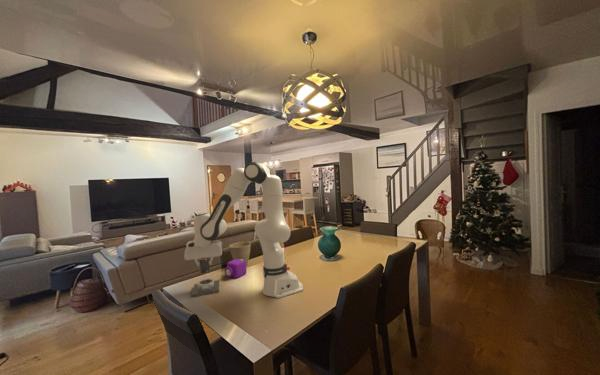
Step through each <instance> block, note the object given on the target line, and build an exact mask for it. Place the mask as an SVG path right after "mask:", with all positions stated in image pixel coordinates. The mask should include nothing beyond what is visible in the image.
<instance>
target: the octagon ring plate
mask: <svg viewBox="0 0 600 375" xmlns="http://www.w3.org/2000/svg"><path fill="white" fill-rule="evenodd" d="M219 292H220V279H218V280H215V279H214V278H205V279H204V278H203V279H200V280H199V281H197V283H194V285H193V288H192V292H191V298H195V297H200V296H206V295H211V294H217V293H219Z"/></svg>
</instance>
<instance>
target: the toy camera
mask: <svg viewBox="0 0 600 375" xmlns="http://www.w3.org/2000/svg"><path fill="white" fill-rule="evenodd" d="M246 274H247V266H246V261H245V260H243V259H235V260H233V259H232V260H229V261H228V262H227V263H226V267H225V268H224V275H225V276H226V277H227V278H234V279H239V278H241V277H243V276H244V275H246Z"/></svg>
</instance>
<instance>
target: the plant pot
mask: <svg viewBox="0 0 600 375" xmlns="http://www.w3.org/2000/svg"><path fill="white" fill-rule="evenodd" d="M251 244H252V242H249V241H240V242H235V243H231V244H229V249H230V254H231V257H232V260H235V259H243V260H245V261H246V267H248V264H249V259H250V255H251V247H252V246H251Z"/></svg>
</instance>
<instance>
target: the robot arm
mask: <svg viewBox="0 0 600 375" xmlns="http://www.w3.org/2000/svg"><path fill="white" fill-rule="evenodd" d="M251 183H255V184H258V185H261V188H262V195H261V198H262V201H261V210H262V212H263V214H264V216H265V219H262V220H258V221H257V222H256V224H255V226H254V232H255V234H256V235H257V238H258V240H259V244H260V247H261V251H262V255H263V256H262V258H263V266H262V267H263V269H262V272H263V273H262V274H263V285H262V286H263V288H262V294H263V295H264V296H267V297H274V298H276V299H280V298H284V297H287V296H289V295H293V294H297V293H300V292H303V291H304V285H303V283H302V282H301V281H300V280H299V278H298V276H297V275H296V274H295V273H294V272H292V271H290V269H291V266H289V265H288V264H286V263H285V260H284V259H285V258H284V249H283V247H282V246H281V244H280V243H285V242H287V241H288V240H289V239H290V237H291V227H290V226H289V225H288V223H287V221H286V218H285V214H284V210H283V209H284V208H283V184H282V179H281V178H280V177H279V176H278V175H275V174H272V170H271V169H270V167H269V166H268V165H265V164H263V163H262V162H257V161H251V162H249V163H247V164H246V165H245V167H236V169H235V170H233V172H232V173H231V174H230V176H229V178H228V179H227V182H226V185H225V187H224V189H223V191H222V193H221V196H220V197H219V200H218V201H217V203H216V205H215V207H214V208H213V210H212V212H211V214H209V213H208V212H205V213H200V214H198V215H195V217H194V220H193V232H194V239H192V240H188V242H187V243H186V244H185V246H186V248H185V249H184V256H183V259H184V260H185V261H191V260H193V261H194V262H195V264H196V267H197V268H198V267H200V262H199V261H198V260H200V259H201V258H210V260H209V266H211V265H212V262H213V260H214V258H215V257H221V256H222V255H223V249H222V247H223V242H222V241H221V240H220V239H217V238H218V237H220V236H221V235H223V234H224V233H225V232H226V231H227V229H228V223H227V222H226V220H225V219H224V217H225V215H226V214H227V211H228V210H229V209H230V208H231V207H233V205H235V204H237V203H238V202H239V201H240V200H241V199H242V198H243V196H244V195H245V192H246V191H247V188H248V186H249V184H251Z"/></svg>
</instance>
